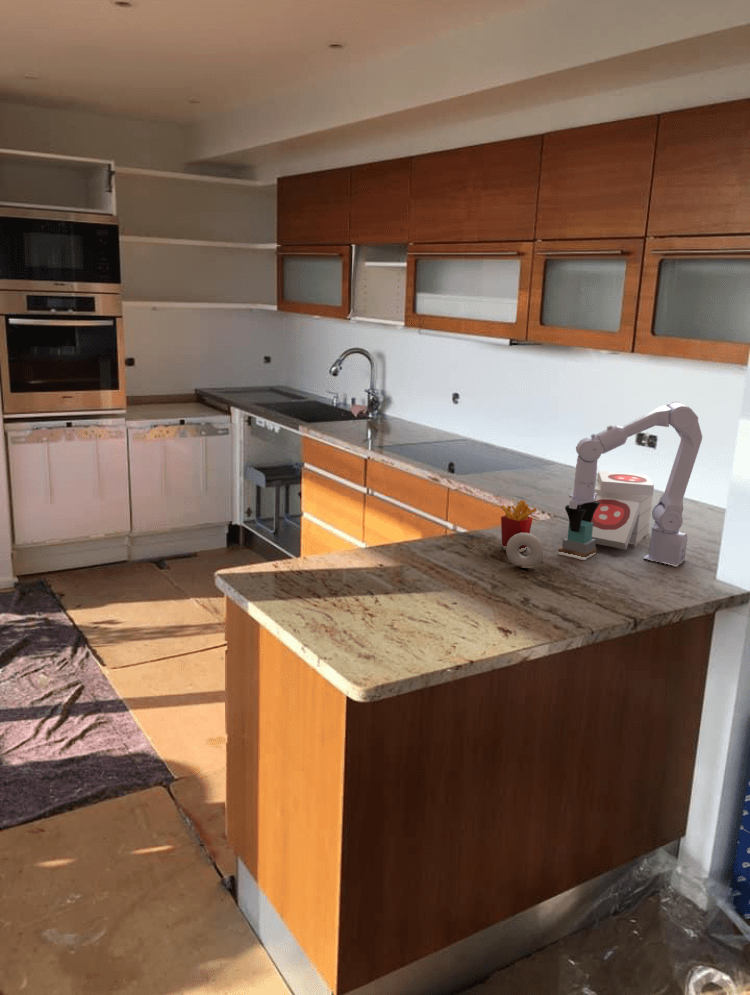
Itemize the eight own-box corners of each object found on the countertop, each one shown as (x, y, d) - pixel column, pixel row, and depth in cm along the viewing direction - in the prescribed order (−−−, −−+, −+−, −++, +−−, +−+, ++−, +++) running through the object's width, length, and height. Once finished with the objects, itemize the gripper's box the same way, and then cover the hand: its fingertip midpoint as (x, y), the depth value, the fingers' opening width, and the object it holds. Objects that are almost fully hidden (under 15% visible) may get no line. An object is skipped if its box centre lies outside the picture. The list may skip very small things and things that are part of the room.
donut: (503, 567, 224) (506, 531, 222) (506, 563, 227) (509, 528, 225) (540, 573, 221) (543, 537, 218) (542, 569, 224) (546, 533, 221)
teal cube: (591, 539, 237) (593, 522, 236) (583, 543, 233) (585, 526, 232) (575, 535, 240) (576, 519, 239) (567, 539, 236) (569, 522, 235)
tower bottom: (595, 556, 239) (596, 547, 238) (584, 562, 233) (585, 554, 232) (569, 550, 243) (570, 542, 243) (557, 556, 237) (558, 548, 237)
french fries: (497, 549, 239) (501, 499, 235) (514, 544, 245) (518, 494, 241) (522, 557, 233) (527, 505, 229) (539, 551, 239) (544, 500, 235)
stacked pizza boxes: (566, 544, 246) (572, 485, 242) (597, 522, 271) (603, 467, 267) (632, 557, 237) (639, 496, 232) (657, 533, 262) (664, 477, 257)
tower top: (595, 547, 238) (595, 539, 238) (585, 553, 233) (586, 544, 232) (571, 542, 242) (572, 534, 242) (562, 548, 237) (562, 539, 236)
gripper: (581, 475, 240) (577, 520, 244) (560, 483, 229) (556, 531, 232) (605, 479, 236) (600, 525, 240) (585, 488, 225) (580, 536, 228)
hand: (580, 528), depth 236 cm, fingers open, 7 cm apart
